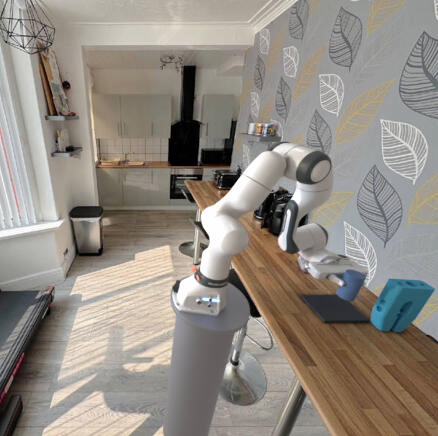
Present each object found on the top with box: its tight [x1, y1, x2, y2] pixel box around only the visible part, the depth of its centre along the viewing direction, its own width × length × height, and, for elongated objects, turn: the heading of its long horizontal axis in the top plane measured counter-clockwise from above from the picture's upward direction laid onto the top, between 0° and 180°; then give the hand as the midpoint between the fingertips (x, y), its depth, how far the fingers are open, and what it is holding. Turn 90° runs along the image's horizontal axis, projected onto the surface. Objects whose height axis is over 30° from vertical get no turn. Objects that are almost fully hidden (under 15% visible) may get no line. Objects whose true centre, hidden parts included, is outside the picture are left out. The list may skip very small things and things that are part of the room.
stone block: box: [297, 255, 310, 274], centre depth 122 cm, size 12×5×10 cm
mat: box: [300, 294, 370, 323], centre depth 96 cm, size 18×14×1 cm
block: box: [369, 278, 436, 333], centre depth 85 cm, size 12×5×20 cm, turn 88°
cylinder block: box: [335, 269, 367, 302], centre depth 85 cm, size 6×6×10 cm
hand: (353, 284), depth 84 cm, fingers closed on cylinder block, 5 cm apart
